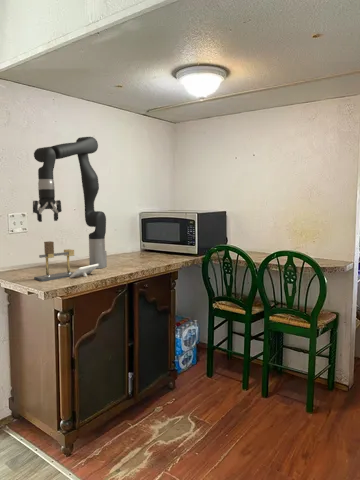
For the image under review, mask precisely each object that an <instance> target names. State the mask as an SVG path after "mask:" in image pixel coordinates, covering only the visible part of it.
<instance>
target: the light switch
mask: <svg viewBox="0 0 360 480" xmlns="http://www.w3.org/2000/svg"><path fill="white" fill-rule="evenodd" d="M98 266H99V264H94V265H89V264H88V265H86V266H81V267H78V268H77V269H76V270H75V271H73V272H74V273H73V274H72V275H71V276H70V277H69V278H76V277H81V276H83V277H84V278H86V277H87V276H88V275H89V274H91V273H92V272H94V270H96V269H98V268H97V267H98Z"/></svg>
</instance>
